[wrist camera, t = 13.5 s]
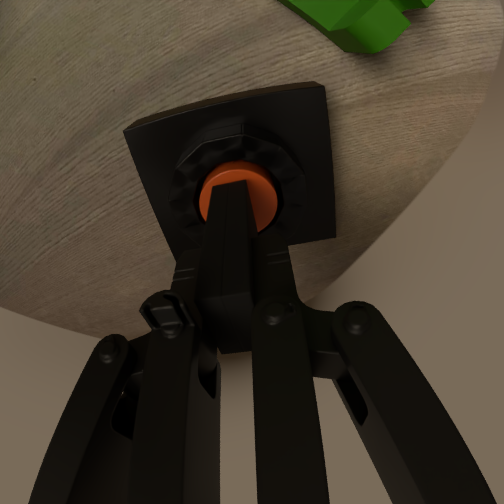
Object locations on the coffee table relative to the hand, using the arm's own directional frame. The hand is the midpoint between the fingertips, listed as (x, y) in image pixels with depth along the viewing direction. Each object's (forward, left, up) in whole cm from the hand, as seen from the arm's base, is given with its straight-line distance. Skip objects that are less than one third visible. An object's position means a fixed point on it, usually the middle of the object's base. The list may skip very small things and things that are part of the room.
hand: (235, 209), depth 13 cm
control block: (0, 0, -5) cm, 5 cm away
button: (0, 0, -2) cm, 2 cm away
